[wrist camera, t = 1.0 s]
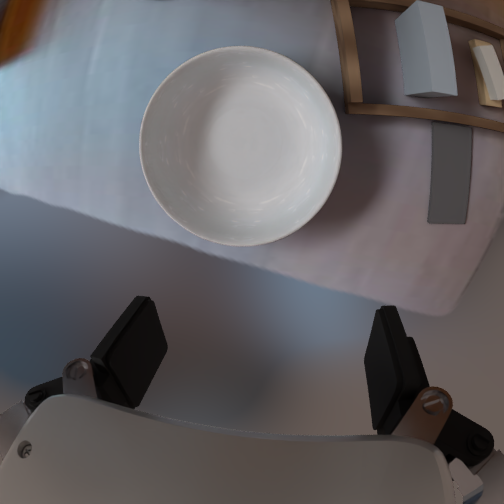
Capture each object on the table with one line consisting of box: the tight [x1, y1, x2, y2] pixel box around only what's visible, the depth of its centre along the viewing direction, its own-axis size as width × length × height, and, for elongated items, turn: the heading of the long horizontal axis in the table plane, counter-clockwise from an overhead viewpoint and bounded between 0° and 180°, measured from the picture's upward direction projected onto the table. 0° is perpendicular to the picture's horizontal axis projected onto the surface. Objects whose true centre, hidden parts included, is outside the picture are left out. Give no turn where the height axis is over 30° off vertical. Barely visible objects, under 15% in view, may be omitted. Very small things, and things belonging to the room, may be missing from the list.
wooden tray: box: [330, 0, 504, 132], centre depth 21 cm, size 15×26×4 cm, turn 96°
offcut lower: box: [468, 39, 502, 108], centre depth 21 cm, size 9×3×2 cm, turn 10°
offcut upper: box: [473, 45, 504, 100], centre depth 20 cm, size 7×3×2 cm, turn 24°
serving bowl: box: [139, 46, 342, 246], centre depth 29 cm, size 21×21×7 cm
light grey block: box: [395, 0, 458, 98], centre depth 21 cm, size 10×3×8 cm, turn 6°
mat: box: [427, 122, 472, 224], centre depth 29 cm, size 13×6×1 cm, turn 6°
